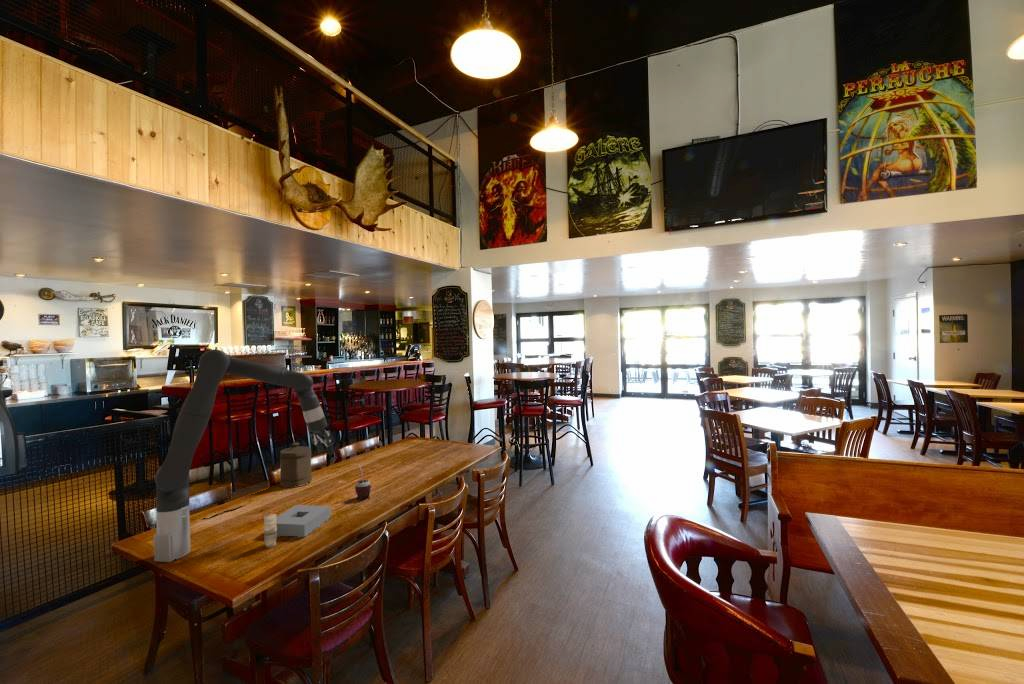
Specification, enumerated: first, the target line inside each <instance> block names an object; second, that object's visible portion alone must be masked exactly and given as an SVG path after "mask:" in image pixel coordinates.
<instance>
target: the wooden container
mask: <svg viewBox="0 0 1024 684" xmlns="http://www.w3.org/2000/svg"><path fill="white" fill-rule="evenodd" d="M299 445H300V443H299V442H298V441H295V442H293V443H292V445H291V447H287V448H284V449H281V450H280V453H279V455H280V456H279V457H280V458H279V459H280V460H279V464H280V465H279V467H280V469H279V470H280V471H279V472H280V473H279V475H280V487H281V486H283V487H282V488H284V487H294V488H296V487H295V486H299V485H303V484H306V483H308V482H310V481H311V480H312V479H313V478H312V477H313V476H312V457H311V456H312V454H311V453H312V451H311V447H310V446H299ZM312 481H313V480H312ZM312 481H311V482H312ZM311 482H310V483H311Z"/></svg>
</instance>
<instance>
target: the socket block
mask: <svg viewBox="0 0 1024 684" xmlns="http://www.w3.org/2000/svg"><path fill="white" fill-rule="evenodd" d="M329 518H330V519H331V506H329V505H308V504H306V505H305V504H304V505H303V504H295V505H293V506H292V507H290V508H288V509H287V510H285V511H283V512H282V513H280V514H279V515H276V521H277V537H280V536H298V537H297V538H301V537H305V536H306V537H308V536H309V535H310V534H311V532H312V531H313V530H314V529H315V530H317V529H318V528H319V527H321V526H323V524H324V522H325V521H326V522H327V521H329V520H330V519H329ZM326 522H325V523H326ZM320 525H321V526H320ZM317 527H318V528H317ZM316 528H317V529H316ZM315 530H314V531H315ZM314 531H313V532H314ZM313 532H312V533H313ZM309 533H310V534H309ZM308 534H309V535H308ZM307 535H308V536H307ZM306 537H305V538H306Z"/></svg>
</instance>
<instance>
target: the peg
mask: <svg viewBox="0 0 1024 684" xmlns="http://www.w3.org/2000/svg"><path fill="white" fill-rule="evenodd" d="M276 517H277V514H276V513H269V514H267V515H264V516H263V524H264V525H263V531H264V532H263V535H264V537H263V539H264V541H263V542H264V543H265V545H264V547H265V548H267V549H268V548H269V549H271V548H274V547H275V546H276V545H277V539H278V536H277V521H276Z"/></svg>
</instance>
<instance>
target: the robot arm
mask: <svg viewBox="0 0 1024 684" xmlns="http://www.w3.org/2000/svg"><path fill="white" fill-rule="evenodd" d="M225 374H228V375H235V376H240V377H245V378H248V379H251V380H255V381H258V382H262V383H266V384H271V385H276V386H282V387H286V388H289V389H293V390H294V392H295V393H296V396H297V398H298V400H299V406H300V407H301V409H302V414H303V418H304V421H305V424H306V427H307V430H308V434H309V437H310V440H311V443H312V445H315V447H316V449H317V453H318V454H322V453H324V452H325V450H324V449H325V448H324V446H323V444H324V445H325V447H326V450H327V453H328V455H330V456H331V455H333V454H334V453H335V449H334V447H333V445H335V439H334V437H333V435H332V432H331V430H330V429H329V430H326V429H325V428H326V427H327V426H328V423H327V420H326V416H325V414H324V410H323V408H322V406H321V404H320V401H319V398H318V396H317V394H316V393H315V391H314V388H313V385H314V379H313V377H312V376H311V375H310V374H308V373H303V372H298V371H297V372H296V371H293V370H288V369H286V368H282V367H279V366H278V367H277V366H275V365H269V364H264V363H260V362H259V363H258V362H255V361H254V362H253V361H250V360H249V361H248V360H244V359H241V358H238V357H235V356H232V355H230V354H227V353H225V352H224V351H222V350H220V349H209V350H207V351H205V352H204V353H202V355H201V356H200V357H199V361H198V368H197V372H196V375H195V378H194V379H195V380H194V382H193V385H192V387H191V388H190V391H189V393H188V394H187V396H186V398H185V399H184V402H183V403H182V406H181V408H180V410H179V413H178V416H177V419H176V421H175V424H174V428H173V432H172V438H171V442H170V447H169V450H168V452H167V455H166V457H165V459H164V461H163V463H162V464H161V466H160V467H158V469H157V471H156V474H155V477H154V479H155V481H154V482H155V485H156V486H155V489H156V499H155V500H156V501H155V506H156V508H155V510H156V513H155V514H156V516H155V517H156V533H154V534H153V549H154V550H153V552H154V553H153V555H154V559H153V561H154V562H161V563H163V562H164V563H170V562H173V561H175V559H176V560H178V559H181V558H183V557H185V556H187V555H188V554H190V552H191V527H190V526H191V523H190V521H191V520H190V519H191V518H190V517H191V516H190V470H191V466H192V462H193V458H194V454H195V452H196V450H197V448H198V446H199V443H200V442H201V440H202V437H203V436H204V433H205V431H206V428H207V427H208V424H209V422H210V421H209V420H210V418H211V415H212V412H213V409H214V405H215V401H216V396H217V391H218V389H219V386H220V383H221V381H222V379H223V377H224V376H225Z"/></svg>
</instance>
